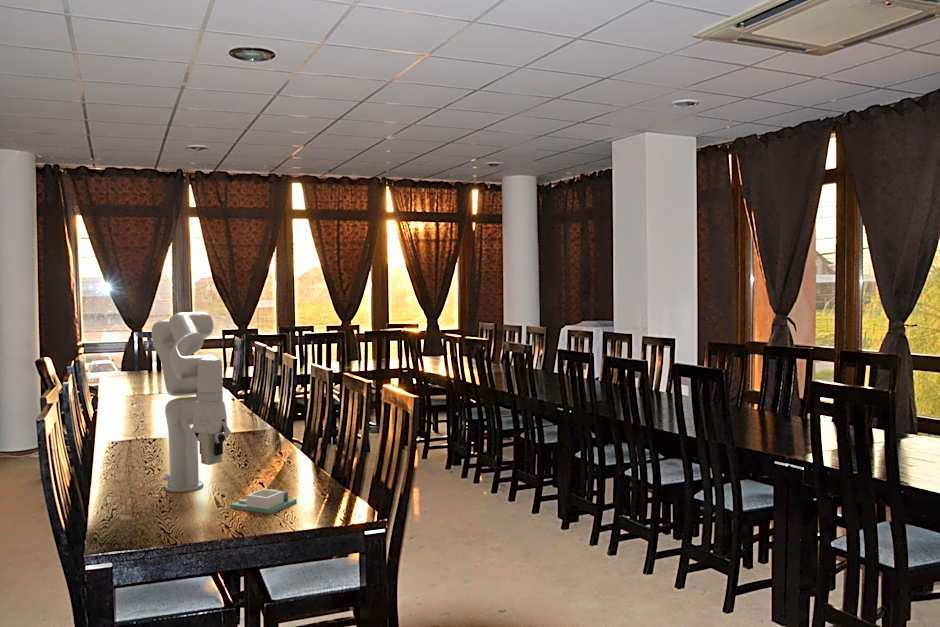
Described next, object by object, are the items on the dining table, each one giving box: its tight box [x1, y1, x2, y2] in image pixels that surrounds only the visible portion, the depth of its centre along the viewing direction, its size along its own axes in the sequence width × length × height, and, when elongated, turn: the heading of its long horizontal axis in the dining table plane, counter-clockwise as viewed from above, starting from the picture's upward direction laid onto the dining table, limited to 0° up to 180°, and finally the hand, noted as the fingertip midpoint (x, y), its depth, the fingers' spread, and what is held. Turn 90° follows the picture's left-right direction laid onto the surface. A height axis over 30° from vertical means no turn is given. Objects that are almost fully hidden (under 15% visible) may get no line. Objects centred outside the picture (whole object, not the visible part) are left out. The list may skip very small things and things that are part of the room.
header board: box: [230, 491, 297, 515], centre depth 262 cm, size 16×13×4 cm
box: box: [199, 431, 223, 466], centre depth 256 cm, size 5×4×11 cm
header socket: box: [246, 488, 285, 509], centre depth 260 cm, size 8×9×4 cm
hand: (211, 453), depth 257 cm, fingers closed on box, 5 cm apart
